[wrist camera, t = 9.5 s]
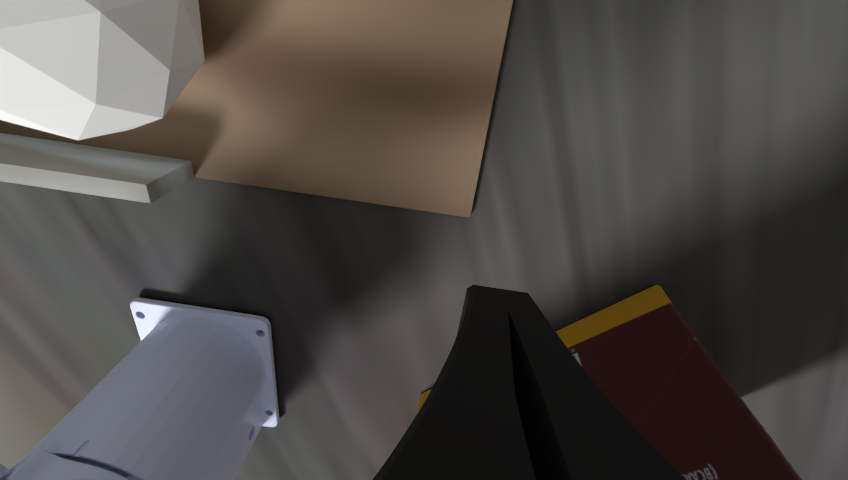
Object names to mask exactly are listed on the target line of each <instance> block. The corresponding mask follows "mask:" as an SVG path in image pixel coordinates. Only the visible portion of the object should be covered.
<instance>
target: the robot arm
mask: <svg viewBox="0 0 848 480" xmlns="http://www.w3.org/2000/svg"><path fill="white" fill-rule="evenodd" d="M130 307H131V310H132V314H133V317H134V320H135V323H136V326H137V330H138V333H139V336H140V339H141V342H140V343H139V344H138V345H137V346H136V347H135V348H134V349H133V350H132V351H131V352H130V353H129V354H128V355H127V356H126V357H125V358H124V359H123V360H122V361H121V362H120V363H119V364H118V365H117V366H116V367H115V368H114V369H113V370H112V371H111V372H110V373H109V374H108V375H107V376H106V377H105V378H104V379H103V380H102V381H101V382H100V383H99V384H98V385H97V386H96V387H95V388H94V389H93V390H92V391H91V392H90V393H89V394H88V395H87V396H86V397H85V398H84V399H83V400H82V401H81V402H80V403H79V404H78V405H77V406H76V407H75V408H74V409H73V410H72V411H71V412H70V413H69V414H68V415H67V416H66V417H65V418H64V419H63V420H62V421H61V422H60V423H59V424H58V425H57V426H56V427H55V428H54V429H53V430H52V431H51V432H50V433H49V434H48V435H47V436H46V437H45V438H44V439H43V440H42V441H41V442H40V443H39V444H38V445H37V446H36V447H35V448H34V449H33V450H32V451H31V452H30V453H29V454H28V455H27V456H26V457H24V458H23V459H22V460H20V461H19V462H18V463H16V464H15V465H13V466H12V467H11V468H9V469H8V470H7V468H6V467H5V466H3V465H2V464H0V480H235V479H236V477H237V475H238V473H239V471H240V469H241V467H242V465H243V463H244V461H245V459H246V457H247V455H248V453H249V451H250V449H251V447H252V445H253V443H254V441H255V439H256V437H257V435H258V433H259V431H260V429H261V427H262V426H267V427H275V426H277V425H278V422H279V409H278V398H277V387H276V376H275V366H274V355H273V344H272V333H271V324H270V321H269V320H268V319H267V318H265V317H263V316H257V315H251V314H244V313H238V312H231V311H225V310H218V309H211V308H205V307H198V306H192V305H185V304H179V303H172V302H166V301H159V300H152V299H146V298H136V299H134V300H133V301H132V302H131V303H130ZM260 330H261V331H263V332H261V331H260ZM373 480H686V479H685V478H684V477H683V476H682V475H681V474H680V473H678V472H677V471H676V470H675V469H674V468H673V467H672V466H671V465H670V464H669V463H668V462H667V461H666V460H665V459H664V458H663V457H662V456H661V455H660V453H659V452H658V451H657V450H656V449H655V448H654V447H653V446H652V445H651V444H650V443H649V442H648V441H647V440H646V439H645V438H644V437H643V436H642V435H641V434H640V433H639V432H638V431H637V430H636V429H635V428H634V427H633V426H632V425H631V423H630V422H629V421H628V420H627V419H626V418H625V417H624V416H623V415H622V414H621V412H620V411H619V410H618V409H617V408H616V407H615V406H614V404H613V403H612V402H611V401H610V400H609V399H608V397H607V396H606V395H605V394H604V393H603V392H602V390H601V389H600V388H599V387H598V386H597V385H596V383H595V382H594V381H593V380H592V379H591V377H590V376H589V375H588V374H587V372H586V371H585V370H584V369H583V367H582V366H581V365H580V364H579V362H578V361H577V360H576V358H575V357H574V356H573V355H572V353H571V352H570V351H569V349H568V348H567V347H566V345H565V344H564V343H563V341H562V340H561V339H560V337H559V336H558V334H557V333H556V332H555V330H554V329H553V328H552V326H551V325H550V323H549V322H548V321H547V319H546V318H545V316H544V315H543V313H542V312H541V311H540V309H539V308H538V306H537V305H536V304H535V302H534V301H533V299H532V298H531V297H530V295H529V294H528V293H524V292H517V291H511V290H504V289H497V288H491V287H484V286H477V285H472V286H470V287H469V288H467V292H466V297H465V301H464V306H463V311H462V315H461V320H460V325H459V329H458V334H457V337H456V340H455V343H454V345H453V347H452V350H451V352H450V354H449V356H448V358H447V360H446V362H445V364H444V366H443V368H442V370H441V373H440V375H439V377H438V379H437V381H436V382H435V384H434V386H433V388H432V390H431V392H430V393H429V395H428V397H427V399H426V400H425V402H424V404H423V405H422V407H421V409H420V410H419V412H418V414H417V415H416V417H415V419H414V420H413V422H412V423H411V425H410V426H409V428H408V429H407V431H406V432H405V434H404V436H403V437H402V439H401V440H400V442H399V443H398V445H397V446H396V448H395V449H394V451H393V452H392V454H391V455H390V456H389V458H388V459H387V461H386V462H385V464H384V465H383V466H382V468H381V469H380V471H379V472H378V473H377V475H376V476H375V477H374V479H373Z"/></svg>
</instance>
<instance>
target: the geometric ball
mask: <svg viewBox="0 0 848 480" xmlns="http://www.w3.org/2000/svg"><path fill="white" fill-rule="evenodd" d="M204 61H205V59H204V49H203V40H202V30H201V21H200V11H199V2H198V0H0V120H2V121H6V122H10V123H14V124H17V125H21V126H25V127H29V128H33V129H36V130H40V131H44V132H48V133H52V134H55V135H59V136H63V137H67V138H71V139H74V140H83V139H87V138H92V137H97V136H102V135H107V134H112V133H117V132H122V131H126V130H131V129H134V128H137V127H140V126H142V125H145V124H148V123H151V122H154V121H156V120H159V119H162V118H163V117H164V116H165V114H166V113H167V112H168V110H169V109H170V107H171V106H172V105H173V103H174V102H175V101H176V99H177V98H178V96H179V95H180V94H181V92H182V91H183V90H184V88H185V87H186V85H187V84H188V83H189V81H190V80H191V79H192V77H193V76H194V74H195V73H196V72H197V70H198V69H199V68H200V66H201V65H202V63H203V62H204Z"/></svg>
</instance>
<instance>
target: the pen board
mask: <svg viewBox="0 0 848 480" xmlns="http://www.w3.org/2000/svg"><path fill="white" fill-rule="evenodd" d="M198 2H199V11H200V21H201V30H202V40H203V49H204V59H205V61H204V62H203V63H202V65H201V66H200V68H199V69H198V70H197V72H196V73H195V74H194V76H193V77H192V79H191V80H190V81H189V83H188V84H187V85H186V87H185V88H184V90H183V91H182V92H181V94H180V95H179V96H178V98H177V99H176V101H175V102H174V103H173V105H172V106H171V107H170V109H169V110H168V112H167V113H166V114H165V116H164V117H163V118H162V119H159V120H156V121H154V122H151V123H148V124H145V125H142V126H140V127H137V128H134V129H131V130H126V131H122V132H117V133H112V134H107V135H102V136H97V137H92V138H87V139H83V140H74V139H71V138H67V137H63V136H59V135H55V134H52V133H48V132H44V131H40V130H36V129H33V128H29V127H25V126H21V125H17V124H14V123H10V122H6V121H2V120H0V181H3V182H10V183H17V184H24V185H30V186H37V187H44V188H51V189H57V190H64V191H71V192H78V193H84V194H91V195H98V196H105V197H111V198H118V199H125V200H132V201H138V202H145V203H152V202H154V201H155V200H157V199H159V198H160V197H162V196H164V195H165V194H167V193H169V192H170V191H172V190H174V189H175V188H177V187H179V186H181V185H182V184H184V183H186V182H187V181H189V180H191V179H192V178H194V177H196V178H203V179H209V180H216V181H223V182H230V183H237V184H243V185H250V186H257V187H264V188H271V189H277V190H284V191H291V192H298V193H305V194H312V195H318V196H325V197H332V198H339V199H346V200H352V201H359V202H366V203H373V204H380V205H386V206H393V207H400V208H407V209H414V210H421V211H427V212H434V213H441V214H448V215H455V216H461V217H468V218H470V216H471V211H472V206H473V200H474V195H475V190H476V185H477V180H478V175H479V170H480V165H481V160H482V155H483V150H484V145H485V140H486V135H487V130H488V125H489V120H490V114H491V109H492V104H493V99H494V94H495V89H496V84H497V79H498V74H499V69H500V64H501V59H502V54H503V49H504V44H505V39H506V34H507V28H508V23H509V18H510V13H511V8H512V3H513V0H198Z"/></svg>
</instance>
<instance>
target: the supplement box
mask: <svg viewBox="0 0 848 480" xmlns="http://www.w3.org/2000/svg"><path fill="white" fill-rule="evenodd" d="M555 332H556V333H557V334H558V336H559V337H560V339H561V340H562V341H563V343H564V344H565V345H566V347H567V348H568V349H569V351H570V352H571V353H572V355H573V356H574V357H575V358H576V360H577V361H578V362H579V364H580V365H581V366H582V367H583V369H584V370H585V371H586V372H587V374H588V375H589V376H590V377H591V379H592V380H593V381H594V382H595V383H596V385H597V386H598V387H599V388H600V389H601V390H602V392H603V393H604V394H605V395H606V396H607V397H608V399H609V400H610V401H611V402H612V403H613V404H614V406H615V407H616V408H617V409H618V410H619V411H620V412H621V414H622V415H623V416H624V417H625V418H626V419H627V420H628V421H629V422H630V423H631V425H632V426H633V427H634V428H635V429H636V430H637V431H638V432H639V433H640V434H641V435H642V436H643V437H644V438H645V439H646V440H647V441H648V442H649V443H650V444H651V445H652V446H653V447H654V448H655V449H656V450H657V451H658V452H659V453H660V455H661V456H662V457H663V458H664V459H665V460H666V461H667V462H668V463H669V464H670V465H671V466H672V467H673V468H674V469H675V470H676V471H677V472H678V473H680V474H681V475H682V476H683V477H684V478H685V479H686V480H802V479H801V478H800V477H799V475H798V474H797V473H796V471H795V470H794V468H793V466H792V465H791V464H790V463H789V461H788V460H787V459H786V457H785V456H784V455H783V453H782V452H781V451H780V450H779V448H778V447H777V445H776V444H775V442H774V441H773V440H772V438H771V437H770V436H769V434H768V432H767V431H766V430H765V429H764V428H763V426H762V425H761V424H760V422H759V421H758V419H757V418H756V417H755V415H754V414H753V413H752V411H751V410H750V409H749V407H748V406H747V404H746V403H745V402H744V400H743V399H742V398H741V397H740V395H739V394H738V393H737V391H736V390H735V389H734V387H733V386H732V385H731V383H730V382H729V381H728V379H727V378H726V377H725V375H724V374H723V373H722V371H721V370H720V368H719V367H718V366H717V365H716V363H715V362H714V361H713V359H712V358H711V356H710V355H709V354H708V352H707V351H706V350H705V348H704V347H703V346H702V344H701V343H700V342H699V340H698V339H697V337H696V336H695V335H694V333H693V332H692V330H691V329H690V328H689V326H688V325H687V324H686V322H685V321H684V319H683V318H682V317H681V315H680V314H679V312H678V311H677V309H676V308H675V307H674V305H673V304H672V302H671V301H670V299H669V298H668V297H667V295H666V294H665V292H664V291H663V289H662V288H661V286H659V285H654V286H652V287H650V288H648V289H646V290H644V291H642V292H639V293H637V294H635V295H633V296H631V297H629V298H626V299H624V300H622V301H620V302H618V303H616V304H614V305H611V306H609V307H607V308H605V309H603V310H601V311H598V312H596V313H594V314H592V315H590V316H588V317H586V318H583V319H581V320H579V321H577V322H575V323H573V324H570V325H568V326H566V327H564V328H562V329H560V330H557V331H555ZM431 390H432V389H430V390H428V391H426V392H424V393H422V394H421V395H420V397H419V407H418V412H419V410H420V409H421V407H422V405H423V404H424V402H425V400H426V399H427V397H428V395H429V393H430V392H431Z"/></svg>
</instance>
